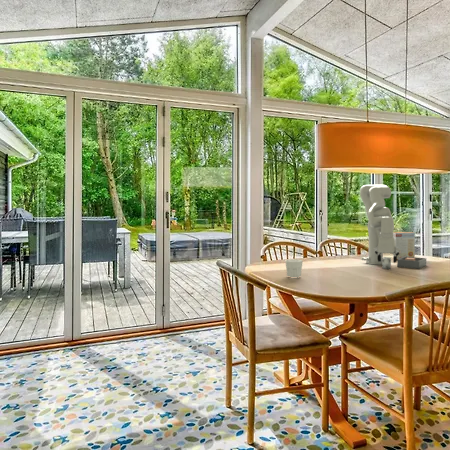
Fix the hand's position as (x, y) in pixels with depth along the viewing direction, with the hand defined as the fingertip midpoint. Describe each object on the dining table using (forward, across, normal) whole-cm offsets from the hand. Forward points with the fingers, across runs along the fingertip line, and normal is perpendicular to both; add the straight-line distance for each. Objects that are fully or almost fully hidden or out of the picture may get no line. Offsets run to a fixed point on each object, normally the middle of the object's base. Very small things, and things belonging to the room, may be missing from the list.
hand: (387, 261), depth 246 cm
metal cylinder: (+4, -1, +1) cm, 5 cm away
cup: (+6, -32, -62) cm, 70 cm away
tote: (+4, +9, +22) cm, 24 cm away
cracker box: (+3, -4, +49) cm, 49 cm away
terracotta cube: (+3, +9, +18) cm, 20 cm away
